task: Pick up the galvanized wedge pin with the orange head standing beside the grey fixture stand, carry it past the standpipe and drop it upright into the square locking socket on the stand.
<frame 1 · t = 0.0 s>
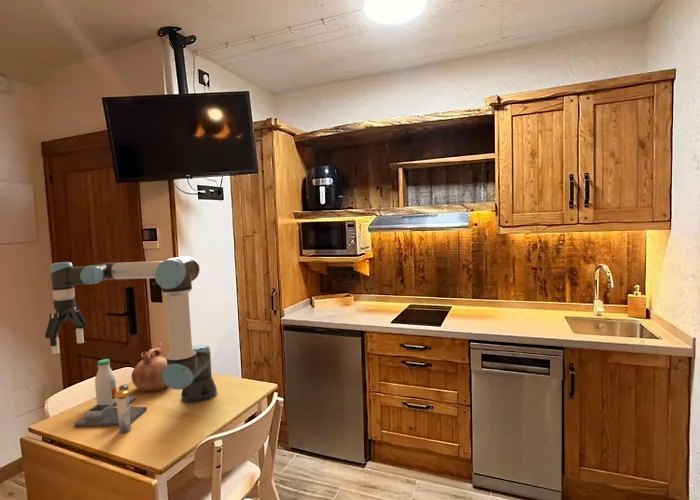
hand: (68, 347, 166), 28 cm above the table, fingers open, 13 cm apart
milk bottle: (107, 404, 173), on the table
jug: (154, 388, 190), on the table
wedge pin: (125, 430, 149), on the table
grey fixture stand: (112, 418, 160), on the table
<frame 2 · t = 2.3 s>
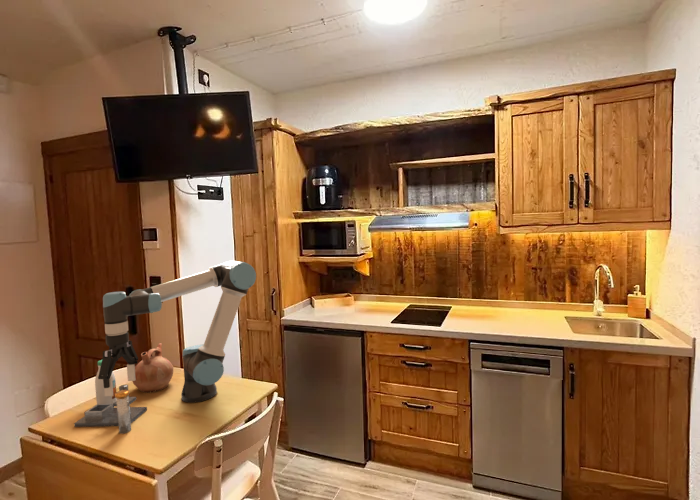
hand: (121, 387, 148), 17 cm above the table, fingers open, 13 cm apart
nothing on the table moved.
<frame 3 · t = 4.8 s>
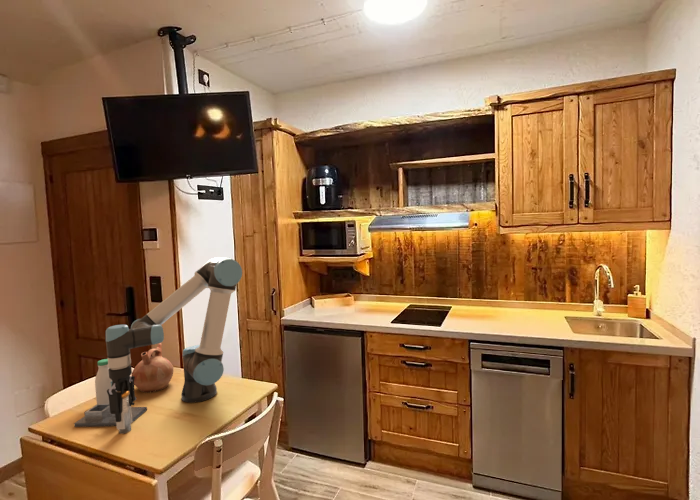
hand: (124, 425, 149), 2 cm above the table, fingers closed on wedge pin, 4 cm apart
wedge pin: (125, 430, 149), on the table, touching gripper
everything else where it was.
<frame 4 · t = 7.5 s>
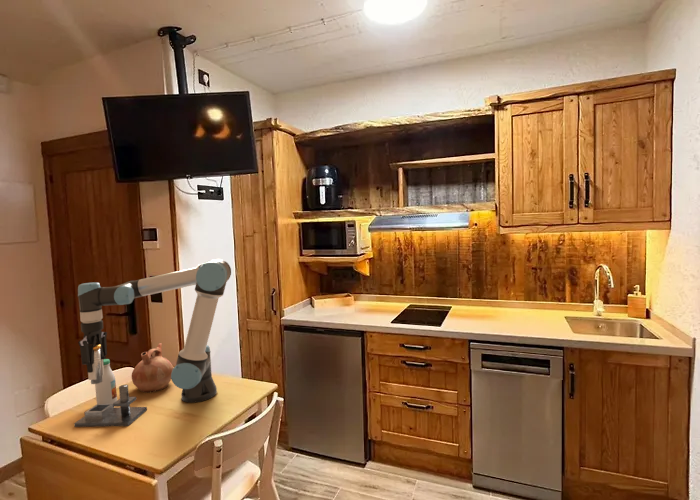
hand: (96, 377, 159), 18 cm above the table, fingers closed on wedge pin, 4 cm apart
wedge pin: (96, 382, 159), point 15 cm above the table, touching gripper
everything else where it was.
when the fingers open (5 cm above the table, at t = 10.2 s): wedge pin drops 1 cm, resting on grey fixture stand.
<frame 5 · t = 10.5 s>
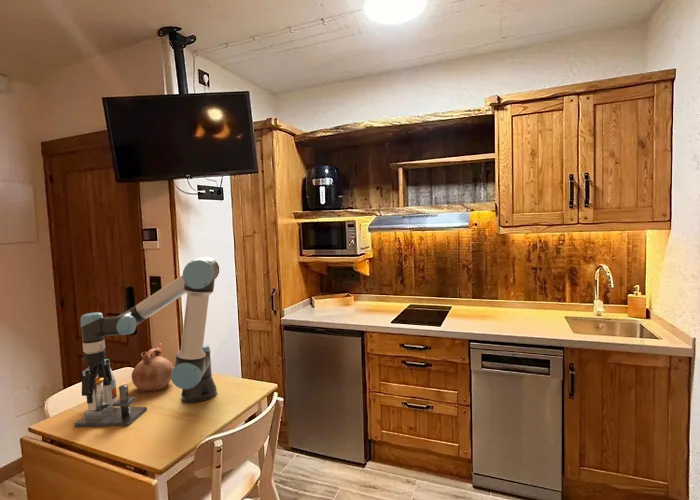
hand: (99, 405, 160), 6 cm above the table, fingers open, 7 cm apart
wedge pin: (99, 415, 160), point 2 cm above the table, touching grey fixture stand
everything else where it was.
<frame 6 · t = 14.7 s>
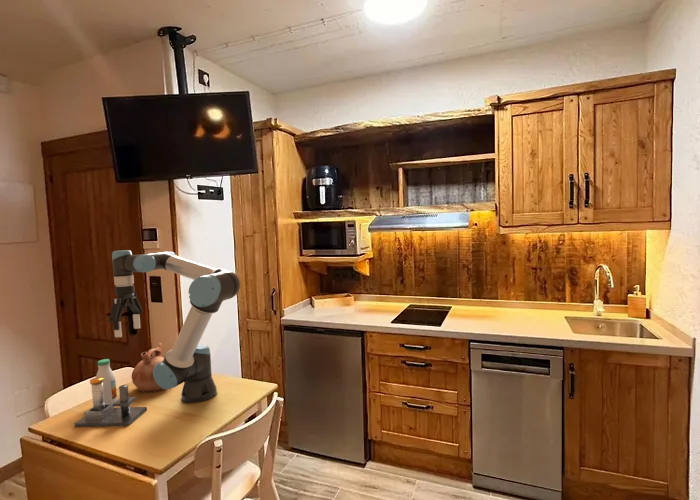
hand: (128, 332, 173), 32 cm above the table, fingers open, 13 cm apart
nothing on the table moved.
at the end: wedge pin 0.0 cm from the target spot on the grey fixture stand, point 1.5 cm above the grey fixture stand's base; wedge pin tilted 0°; the gripper is holding nothing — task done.
